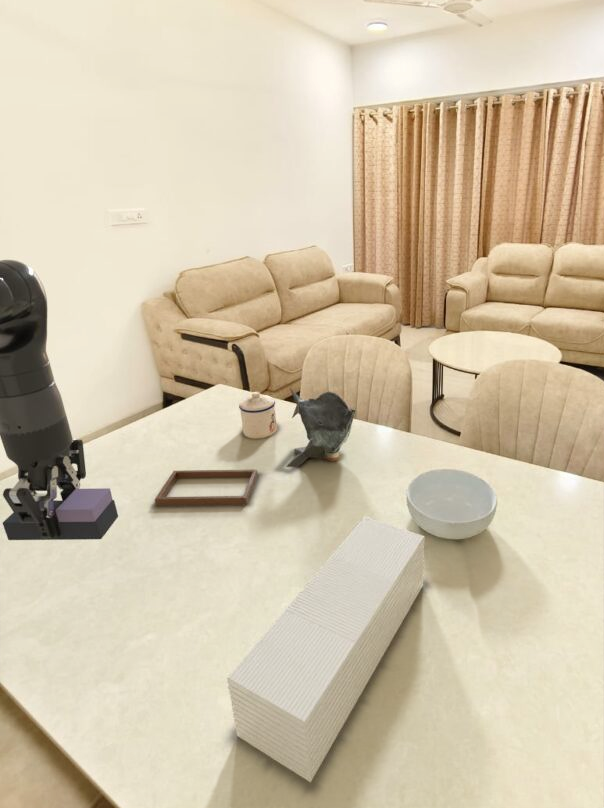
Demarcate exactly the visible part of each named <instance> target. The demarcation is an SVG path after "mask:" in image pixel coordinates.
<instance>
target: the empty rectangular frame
mask: <svg viewBox="0 0 604 808" xmlns="http://www.w3.org/2000/svg"><path fill="white" fill-rule="evenodd" d="M258 477H259V475H258V469H198V470H197V469H195V470H194V469H193V470H189V469H188V470H173V471H172V473H171V474H170V475H169V477H168V479H167V481H166V482H165V483H164V485H163V486H162V488H161V489H160V491H159V492H158V494H157V495H156V497H155V498H154V502H155V506H156V507H167V506H168V507H179V506H186V507H187V506H188V507H190V506H242V505H243V506H246V505H248V504H249V500H250V498H251V495H252V492H253V490H254V488H255V485H256V483H257V482H256V481H257V479H258ZM240 478H241V479H245V478H246V479H249V480H248V483H247V485H246V488H245V490H244V492H243V495H212V496H211V495H206V496H201V495H200V496H168V494H169V493H170V492H171V489H172V488H173V486H174V485H175V484H176V482H177V480H181V479H182V480H184V479H187V480H188V479H191V480H192V479H240Z"/></svg>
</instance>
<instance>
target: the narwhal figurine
mask: <svg viewBox="0 0 604 808" xmlns="http://www.w3.org/2000/svg"><path fill="white" fill-rule="evenodd" d="M288 388H289V390H290V392H291V394H292V397H293V399H294V402H295V404H296V405H295V408H294V412H293V414H292V417H291V419H293V418H294V417H295V416H297V415H299V416H300V420H301V423H302V424H303V426H304V429H305V432H306V438H307V440H308V441H309V442H308V443H307V445H306V446H301V447H296V448H294V453H295V456H294V457H293V458H292V459H291V460H290V462H289V463H288V464H287V465H286V466H285V467H286V468H287V467H288V468H296V469H297V468H299V467H300V466H301V465H302V464H303V463H304V462H305V461H306V460H308V459H309V458H317V459H324V460H327V461H330V462H333V461H338V460H339V459H340V458H341V454H340V450H341V448H342V446H343V445H344V443H346V442H347V441H348V439H349V437H350V433H351V431H352V425H353V421H354V419H355V415H356V409H353V408H351V407H350V408H349V407H348V405H347V403H346V401H345V400H343V398H342V397H340V395H338V394H337V393H336V392H333V391H326V392H323V393H322V394H320V395H319V396H318V397H317V398H307V399H302V398H301V397H300V396H299V395H298V394H297V393H296V392H295V391H294V390H293V389H292V388H291V387H289V386H288Z"/></svg>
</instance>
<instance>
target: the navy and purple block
mask: <svg viewBox="0 0 604 808" xmlns="http://www.w3.org/2000/svg"><path fill="white" fill-rule="evenodd" d="M39 508H40V509H44V502H42V501H39ZM53 508H54V514H55V516H56V520H57V523H58V527H59V530H60V533H61V535H60V536H59V537H58V538H57V539H52V540H51V541H58V540H59V541H62V540H63V541H66V540H68V541H69V540H70V541H71V540H72V541H73V540H102V539H103V537H104V536H105V535H106V534H107V532H108V531H109V530H110V528H111V527H112V526H113V524H114V523H115V522H116V520H117V519H118V518H119V513H118V509H117V506H116V502H115V499H113V496H112V491H111V487H110V488H79V489H75V490H74V491H73V492H72V493H71V494H70V495H69V496H68V497H67V499H66V500H65V501H62V500H53ZM12 512H13V511H12ZM2 526H3V529H4V532H5V534H6V538H7V540H8V541H47V540H46V539H42V538H41V537H40V534H39V530H38V528H37V525H36V523H21V522H20V521H19V520H18V518H17V517H16V515H15V514H14V512H13V513H11V514H10V515H9V516H8V517H7V518H5V520H4V521H2Z"/></svg>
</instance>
